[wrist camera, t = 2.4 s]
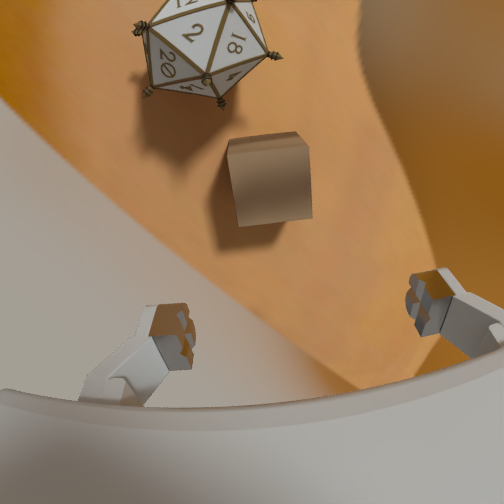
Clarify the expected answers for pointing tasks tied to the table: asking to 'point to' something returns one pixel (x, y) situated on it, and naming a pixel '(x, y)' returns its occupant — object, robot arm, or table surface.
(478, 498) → the robot arm
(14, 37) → the table surface
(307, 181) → the walnut cube
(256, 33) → the game die
